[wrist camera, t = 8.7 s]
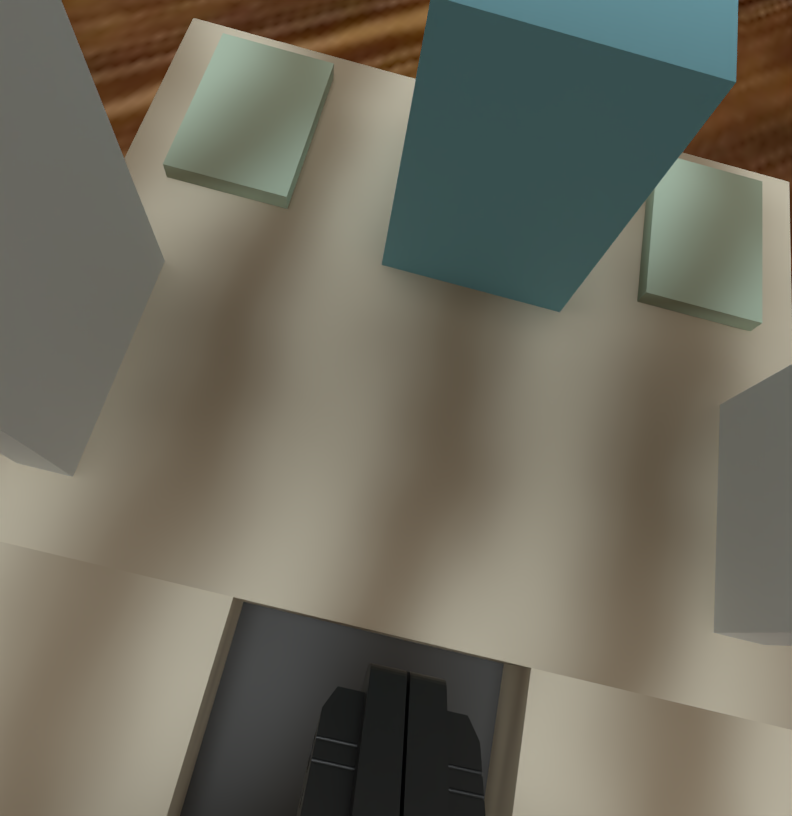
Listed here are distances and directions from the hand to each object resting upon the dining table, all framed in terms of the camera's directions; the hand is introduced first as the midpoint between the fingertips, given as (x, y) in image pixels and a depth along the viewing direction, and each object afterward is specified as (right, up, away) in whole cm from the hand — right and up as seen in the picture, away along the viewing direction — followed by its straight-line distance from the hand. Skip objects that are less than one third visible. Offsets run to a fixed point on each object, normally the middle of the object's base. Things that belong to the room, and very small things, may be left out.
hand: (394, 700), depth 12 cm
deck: (0, +3, +9) cm, 9 cm away
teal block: (+3, +12, +9) cm, 16 cm away
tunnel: (+1, +5, +6) cm, 8 cm away
